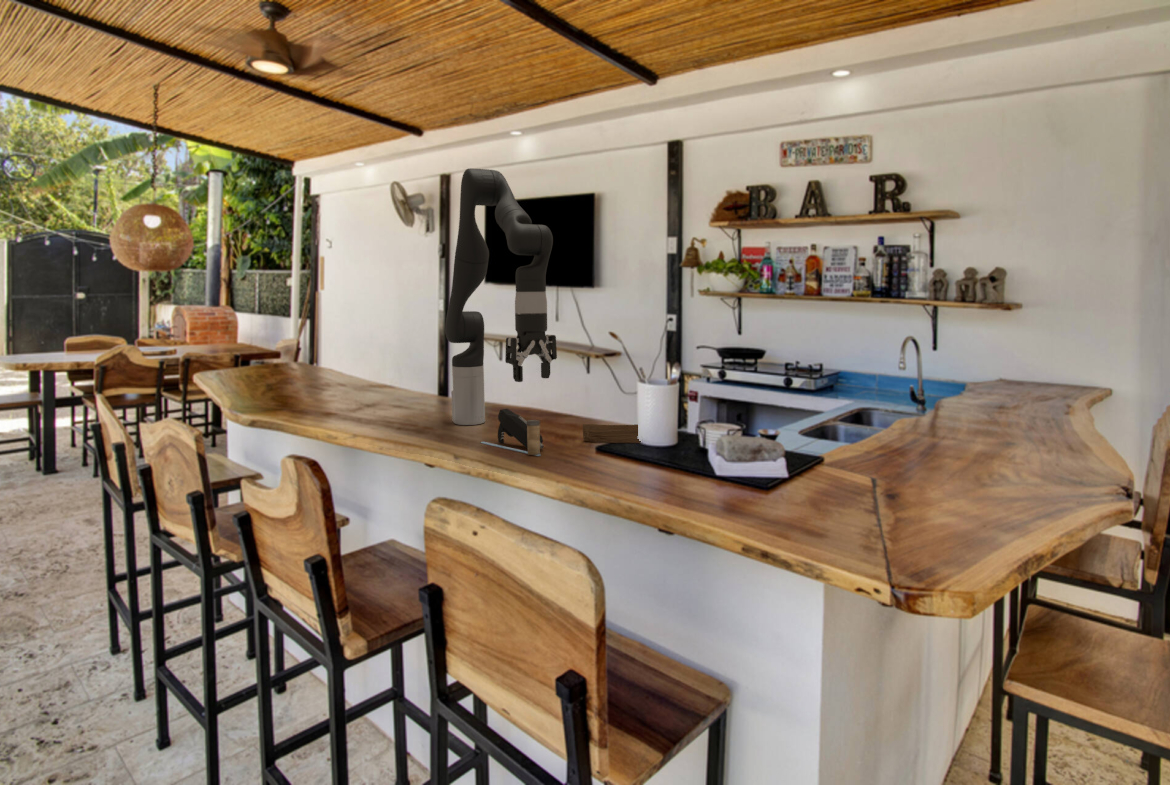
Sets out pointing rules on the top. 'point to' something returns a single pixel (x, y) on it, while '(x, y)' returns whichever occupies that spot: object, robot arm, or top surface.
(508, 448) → the tape line
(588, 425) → the wood plank
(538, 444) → the peg
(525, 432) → the gun
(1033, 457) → the top surface
